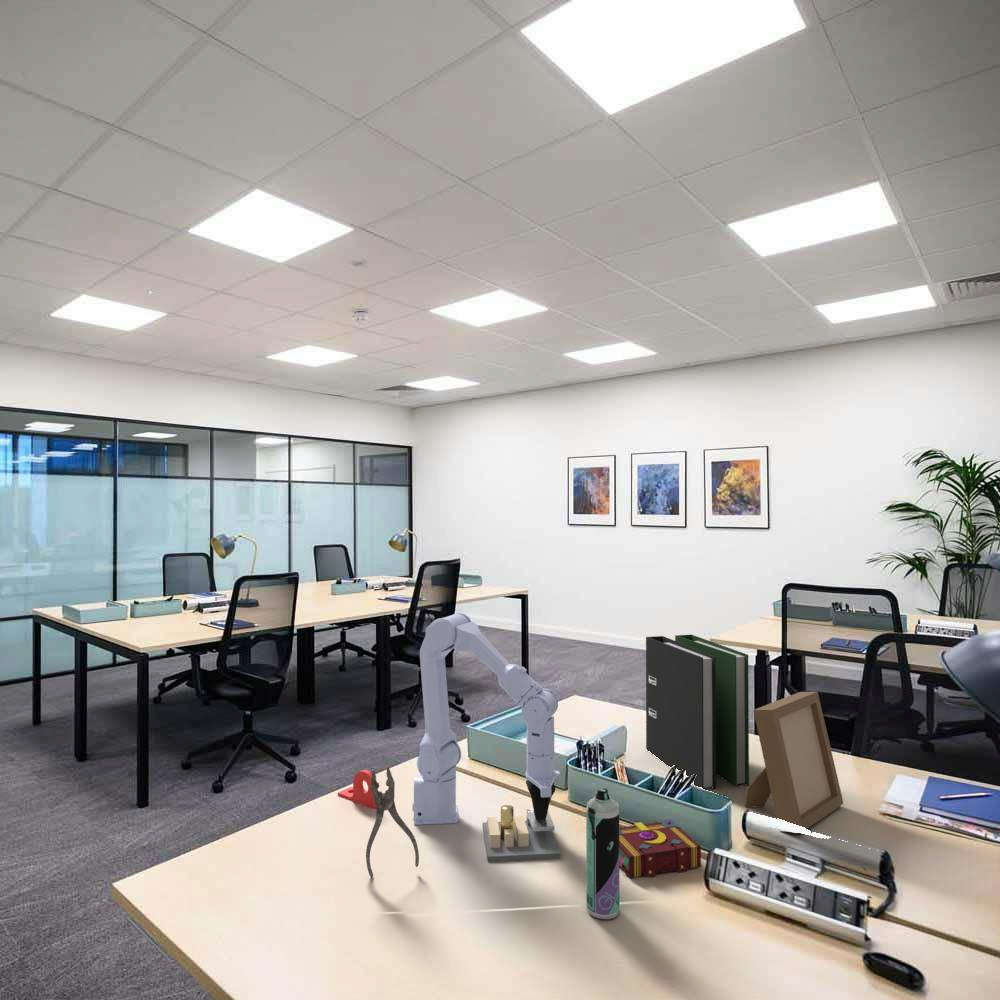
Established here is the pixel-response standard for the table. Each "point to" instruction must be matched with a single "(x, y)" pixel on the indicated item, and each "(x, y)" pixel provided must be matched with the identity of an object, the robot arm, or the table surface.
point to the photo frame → (795, 761)
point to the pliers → (383, 803)
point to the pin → (507, 819)
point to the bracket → (360, 790)
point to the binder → (698, 708)
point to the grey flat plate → (540, 822)
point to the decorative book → (656, 849)
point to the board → (524, 853)
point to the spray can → (602, 856)
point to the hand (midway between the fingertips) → (540, 818)
